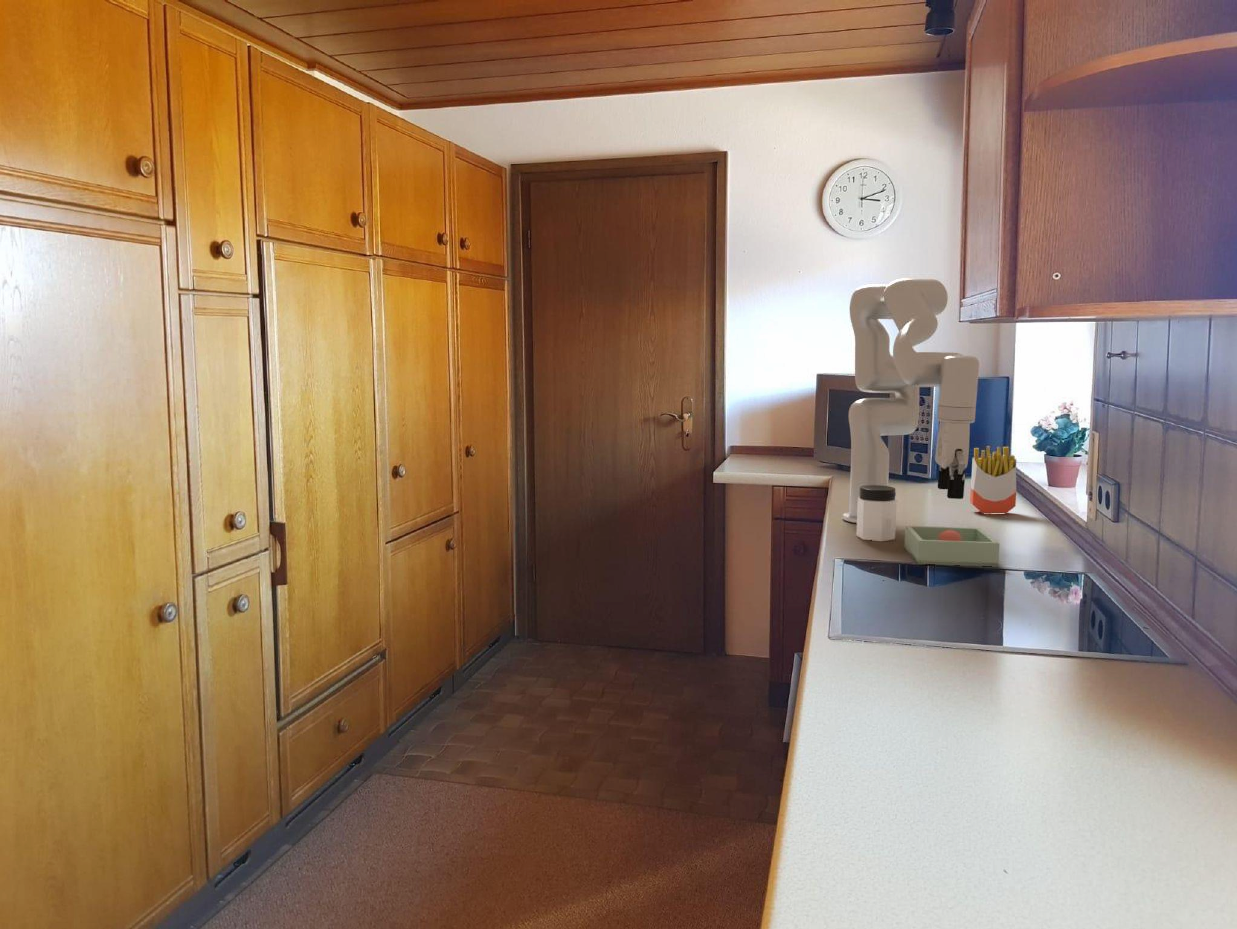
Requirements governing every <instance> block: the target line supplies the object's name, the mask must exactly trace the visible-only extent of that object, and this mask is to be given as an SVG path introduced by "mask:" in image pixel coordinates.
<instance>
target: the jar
mask: <svg viewBox="0 0 1237 929" xmlns="http://www.w3.org/2000/svg"><path fill="white" fill-rule="evenodd" d="M896 493H897V492H896V488H895V487H893V486H890V485H888V486H881V485H865V486H861V487H860V495H859V497H858V506H857V523H856V533H855V534H856V537H857V538H860V540H863V541H870V540H872V542H881V543H882V542H887V541H894V540H895V539H896V523H897V505H898V504H897V502H898V501H897V499H896V496H897V495H896Z"/></svg>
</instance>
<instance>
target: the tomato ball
mask: <svg viewBox="0 0 1237 929" xmlns="http://www.w3.org/2000/svg"><path fill="white" fill-rule="evenodd" d="M938 540H944V541H962V538H961V536H960V535H959V534H958V533H957V532H955V531H952V530H947V531H944V532H942V533H941V534H940V536H939V537H938Z"/></svg>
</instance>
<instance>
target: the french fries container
mask: <svg viewBox="0 0 1237 929" xmlns="http://www.w3.org/2000/svg"><path fill="white" fill-rule="evenodd" d="M996 448H997V451H993V452H992V454H991V446H989V445H987V446H986V448H985V449H986V450H982V449H981V454H980V450H979V449H980V448H979V447H974V448H973V457H972V459H971V460H972V461H971V462H972V463H971V478H970V479H971V480H970V481H971V482H970V497H969V498H970V499H969V500H970V504H971V505H973V507H975V509H976V510H978V512H980V513H981V514H982V513H1006V514H1008V513H1009V512H1010V511H1011V510H1013V509H1014V508H1015V507H1016V506H1017V505H1016V504H1017V503H1016V502H1017V459H1016V458H1015V457H1016V456H1015V455H1011V454H1010V446H1002V447H1001V446H997V447H996ZM1001 449H1002V450H1001ZM979 455H980V456H979Z"/></svg>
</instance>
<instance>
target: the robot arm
mask: <svg viewBox="0 0 1237 929" xmlns="http://www.w3.org/2000/svg"><path fill="white" fill-rule="evenodd" d="M948 299H949V296H948V292H947V288H946V287H945V285H944V284H943V283H942V281H939V280H938V279H933V278H900V279H896V280H894V281H891V282H890V283H889V284H883V283H882V284H880V283H879V284H877V283H876V284H867V285H862V286H860V287H858V288H856V289H855V290H854V291H853V293H852V295H851V297H850V301H849V317H850V318H849V319H850V322H851V323H850V324H851V328H852V330H853V334H854V381H855V386H856V387H857V389H858V390H859V391H861V392H865V393H874V394H875V393H876V394H877V393H881V394H882V393H884V394H885V393H889V394H891V393H893V394H894V396H895V397H866V398H861V399H858V400H856V401H854V402H852V404H851V405H850V407H849V410H848V423H849V429H850V430H849V432H850V442H851V443H850V444H851V445H850V447H851V448H850V474H849V476H850V477H849V478H850V480H849V481H850V482H849V505H848V506H849V507H848V512H844V513H843V514H842V520H844V521H846V522H850V523H854V524H855V523H856V524H857V506H858V497H859V495H860V487H861V486H865V485H881V486H889V474H890V473H889V472H890V470H889V469H890V452H889V449H888V447H887V445H886V443H885V442H884V440H883V438H882V436H906V435H907V436H908V435H911V434H913V433H914V432H915V431H916V430H917V428H918V425H919V421H920V420H919V418H920V388H939V389H938V402H937V412H936V413H937V415H936V418H937V419H936V420H937V421H938V422H939V426H938V430H937V431H938V432H937V440H936V447H935V457H934V461H935V462H936V464H937V465H938V469H939V470H938V474H937V475H938V476H937V477H938V478H937V488H938V490H947V491H946V497H947V498H948V499H952V500H953V499H955V500H963V499H964V496H965V495H964V494H965V480H966V475H965V474H966V468H967V467H968V464H969V463H968V462H969V452H970V451H969V450H970V434H971V432H970V429H971V428H970V424H973V423H975V421H976V411H977V409H976V406H977V396H978V384H979V370H980V363H979V362H980V361H979V359H978V358H977V357H975V356H971V355H964V354H962V353H958V352H941V351H939V352H937V351H934V352H933V351H931V352H930V351H929V352H928V351H927V352H924V351H923V352H921V351H920V352H919V351H918V352H917V351H916V350H915V349H914V347H915V346H917V345H920V344H922V343H924V342H926V341H928V340H929V339H931V337H932V336H934V334H935V333H936V331H937V329H938V325H939V322H938V318H937V317H936V316H938V315H940V314H942V313H943V312H944V311H945V310H946V308H947V305H948V301H949V300H948ZM879 320H893V322H894V325H895V326H896V327H897V331H898V333H897V335H896V337H895V338H894V339H895V340H894V342H893V347H892V355H891V352H890V348H891V346H890V345H891V342H890V340H891V339H890V338H891V337H890V334H889V333H888V331H887V329H886V328H885V326H884V325H883V324H882V322H880V321H879Z"/></svg>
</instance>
